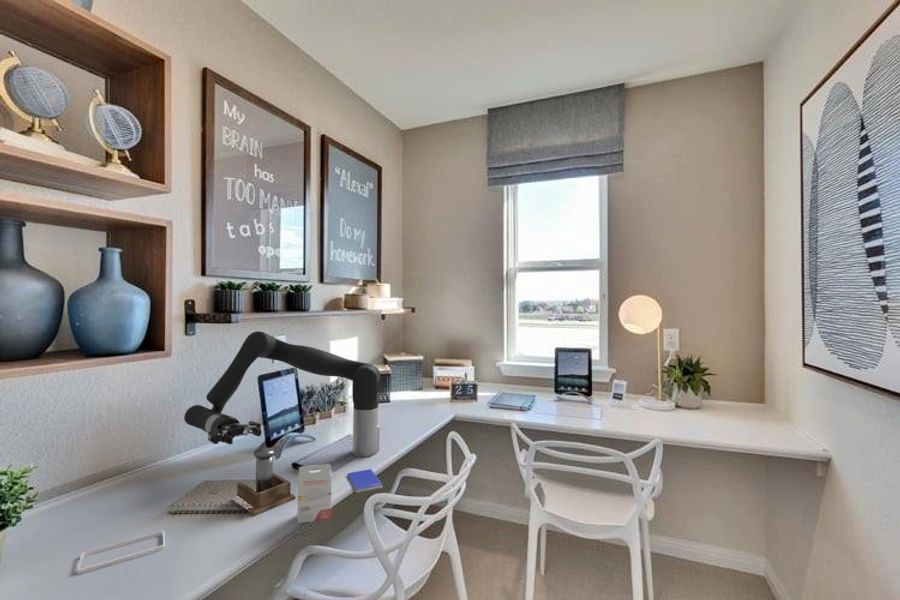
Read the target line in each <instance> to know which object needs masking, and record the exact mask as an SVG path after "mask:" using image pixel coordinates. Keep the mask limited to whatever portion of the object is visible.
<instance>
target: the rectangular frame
mask: <svg viewBox="0 0 900 600" xmlns="http://www.w3.org/2000/svg"><path fill="white" fill-rule="evenodd" d="M159 536H162V545H159V546H156V547H151V548H149V549H148V548H147V549H145V550H142V551H139V552H134V553H131V554H128V555H125V556H121V557H118V558H114V559H111V560H108V561H103V562H101V563H96V564H94V565H90V566H87V567H82V568H80V567H81V564H82V563H81V562H82V561H83V560H82V559H84V557H86V556H87V557H88V556H89V555H93V554H97V553H101V552H104V551H108V550H111V549H115V548H119V547H122V546H127V545H130V544H134V543H136V542H140V541H144V540H147V539H151V538H152V539H153V538H155V537H159ZM165 539H166V538H165V531H164V530H161V531H155V532H153V533H149V534H145V535H141V536H138V537H133V538H130V539H127V540H121V541H119V542H116V543H112V544H109V545H104V546H100V547H97V548H93V549H90V550H87V551H84V552H82V553H80V557H79V561H78V564H77V569H76V574H78V575H80V574H79V573H82V574H84V572H85V573H87V572H86V571H89V572H91V571H90V570H92V571H95V570H98V569H97V568H99V569H101V568H100V567H102V568H104V567H103V566H106V567H108V566H107V565H109V566H111V565H110V564H112V565H115V564H114V563H116V564H118V563H121V562H126V561H129V560H131V559H133V558H134V557H137V556H139V555H143V554H147V553H149V552H152V551H155V552H156V553H157V552H160V551H162V550H164V549H166V541H165ZM94 569H95V570H94Z"/></svg>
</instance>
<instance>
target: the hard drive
mask: <svg viewBox="0 0 900 600" xmlns="http://www.w3.org/2000/svg"><path fill="white" fill-rule="evenodd" d="M346 475H347V476H346V477H347V478H348V480H349V483H350V484H351V485H352V486H353V487H352V488H353V489H354V490H355V493H363V492H367V491H372V490H373V491H374V490H378V489H382V488H384V485H383V483H382V482H381V481H380V479H379V478H378V477H377V475H376V473H375V472H374V471H373V469H371V468H370V469H365V470H359V471H353V472H348V473H347V474H346Z"/></svg>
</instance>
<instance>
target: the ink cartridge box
mask: <svg viewBox="0 0 900 600" xmlns="http://www.w3.org/2000/svg"><path fill="white" fill-rule="evenodd" d="M297 477H298V478H297V521H296V522H297V524H304V523H311V522H319V521H326V520H331V519H332V479H333V478H332V465H331V463H327V464H314V465H306V466H304V465H303V466H299V468H298V476H297Z"/></svg>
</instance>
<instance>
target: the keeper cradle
mask: <svg viewBox="0 0 900 600" xmlns="http://www.w3.org/2000/svg"><path fill="white" fill-rule="evenodd" d="M291 485H292V484H291V481H289V480H287V479H285V478H283V477H282V476H281V475H278V474H276V473H274V472H273V477H272V488H270V489H267V490H265V491H262V492H259V493H258V492H256V491H255V490H253V488H251V487H250V486H248V485H246V484H245V483H243V482H242V481H240V482H237V485H236V486H237V488H236V489H237V492H236V496H239V497H240V498H242V499H243V500H244V501H246V502H247V503H248V504H250V505H251V506H252V507H253V508H248V510H249V511H247V512H249V514H251V515H252V516H254V517H255V516H257V515H259V514H262V513H265V512H267V511H269V510H272V509H274V508H277V507H279V506H281V505H284V504H287V503H288V502H290V501H291V502H292V501H293V500H295V499H296V495H294V494H293V493H291V490H292V489H291V487H292V486H291Z"/></svg>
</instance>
